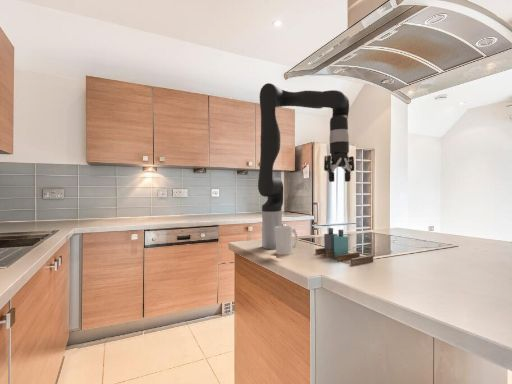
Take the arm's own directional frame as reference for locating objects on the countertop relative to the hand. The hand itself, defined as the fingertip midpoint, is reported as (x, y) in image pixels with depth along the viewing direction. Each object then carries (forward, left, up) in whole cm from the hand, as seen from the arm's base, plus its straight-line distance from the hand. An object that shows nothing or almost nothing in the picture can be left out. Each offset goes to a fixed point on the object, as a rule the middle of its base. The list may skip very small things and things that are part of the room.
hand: (339, 181), depth 115 cm
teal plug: (+6, -6, -29) cm, 30 cm away
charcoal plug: (+1, -6, -29) cm, 30 cm away
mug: (-11, -19, -30) cm, 37 cm away
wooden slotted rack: (+7, -6, -30) cm, 31 cm away
